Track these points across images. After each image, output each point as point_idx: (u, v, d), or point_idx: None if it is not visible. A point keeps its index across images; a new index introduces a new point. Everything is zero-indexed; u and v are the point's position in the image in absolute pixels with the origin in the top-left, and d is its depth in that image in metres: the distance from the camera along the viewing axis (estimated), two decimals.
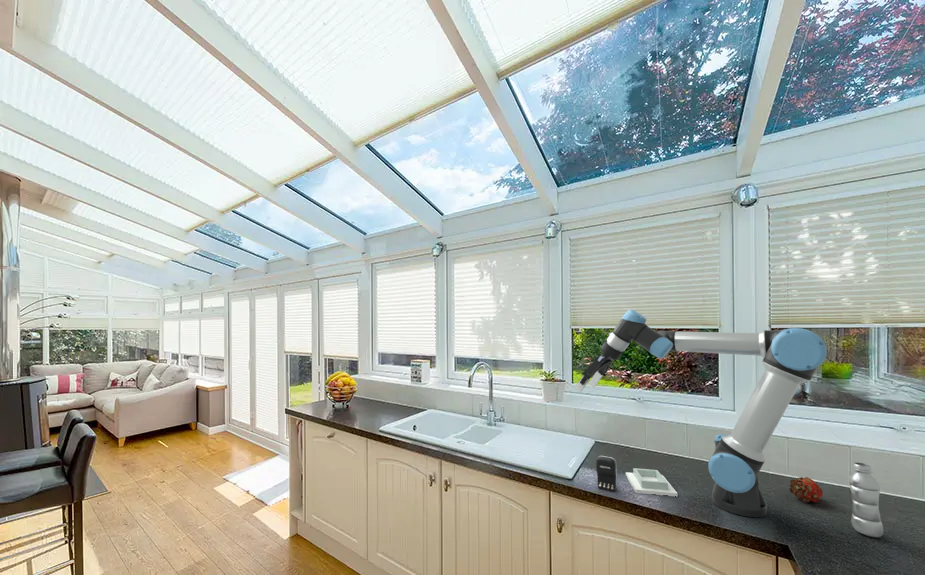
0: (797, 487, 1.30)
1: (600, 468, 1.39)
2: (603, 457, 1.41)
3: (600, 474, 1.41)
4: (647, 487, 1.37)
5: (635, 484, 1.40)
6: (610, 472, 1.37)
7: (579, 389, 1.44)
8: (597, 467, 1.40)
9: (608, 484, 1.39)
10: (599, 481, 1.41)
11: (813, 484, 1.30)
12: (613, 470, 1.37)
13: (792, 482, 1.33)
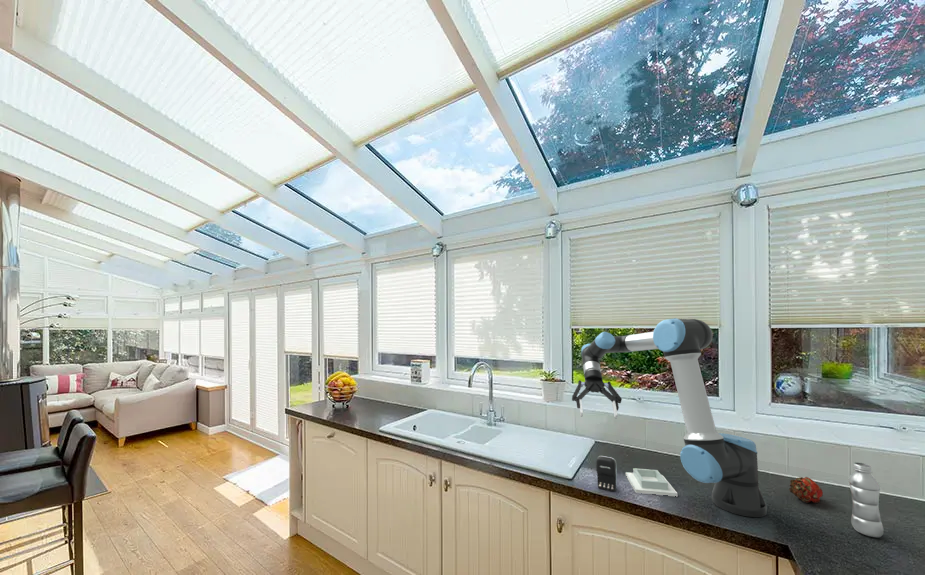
0: (797, 487, 1.30)
1: (600, 468, 1.39)
2: (603, 457, 1.41)
3: (600, 474, 1.41)
4: (647, 487, 1.37)
5: (635, 484, 1.40)
6: (610, 472, 1.37)
7: (580, 412, 1.56)
8: (597, 467, 1.40)
9: (608, 484, 1.39)
10: (599, 481, 1.41)
11: (813, 484, 1.30)
12: (613, 470, 1.37)
13: (792, 482, 1.33)
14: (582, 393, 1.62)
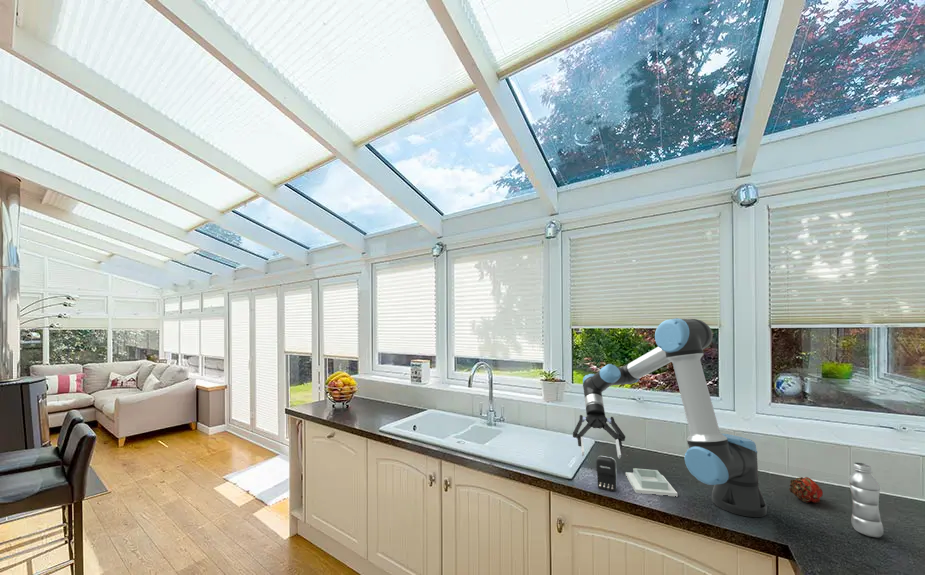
0: (797, 487, 1.30)
1: (600, 468, 1.39)
2: (603, 457, 1.41)
3: (600, 474, 1.41)
4: (647, 487, 1.37)
5: (635, 484, 1.40)
6: (610, 472, 1.37)
7: (581, 451, 1.48)
8: (597, 467, 1.40)
9: (608, 484, 1.39)
10: (599, 481, 1.41)
11: (813, 484, 1.30)
12: (613, 470, 1.37)
13: (792, 482, 1.33)
14: (583, 429, 1.53)
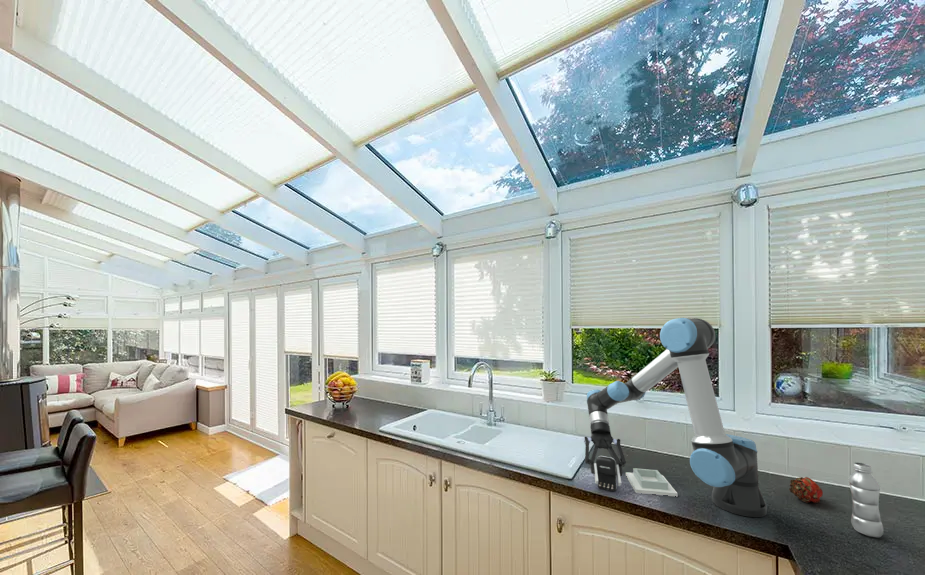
0: (797, 487, 1.30)
1: (600, 468, 1.39)
2: (603, 457, 1.40)
3: (600, 474, 1.41)
4: (647, 487, 1.37)
5: (635, 484, 1.40)
6: (610, 472, 1.37)
7: (595, 479, 1.37)
8: (597, 467, 1.40)
9: (608, 484, 1.39)
10: (599, 481, 1.41)
11: (813, 484, 1.30)
12: (613, 470, 1.37)
13: (792, 482, 1.33)
14: (594, 453, 1.44)
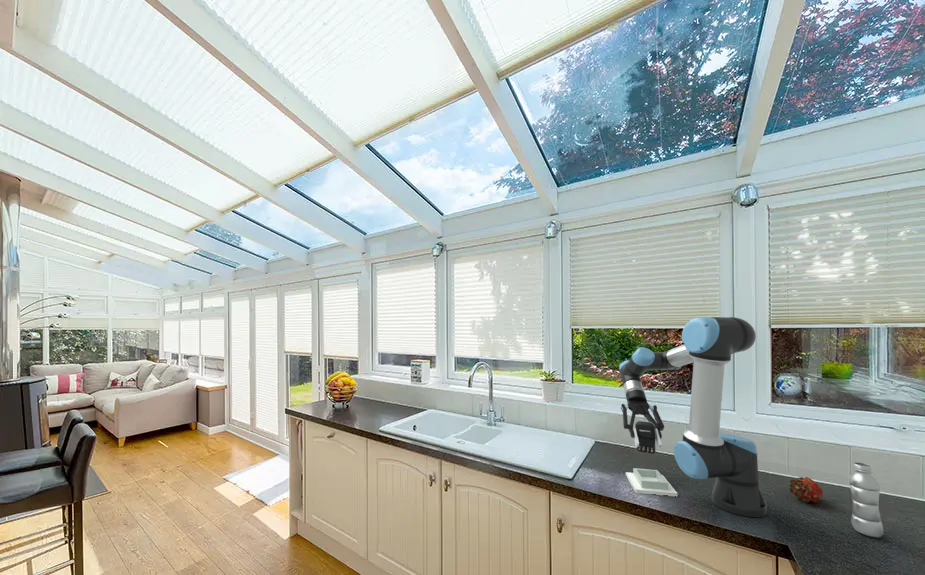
0: (797, 487, 1.30)
1: (639, 432, 1.43)
2: (642, 421, 1.45)
3: (639, 438, 1.45)
4: (647, 487, 1.37)
5: (635, 484, 1.40)
6: (650, 435, 1.42)
7: (636, 442, 1.41)
8: (636, 431, 1.44)
9: (647, 447, 1.43)
10: None
11: (813, 484, 1.30)
12: (653, 433, 1.41)
13: (792, 482, 1.33)
14: (632, 419, 1.48)
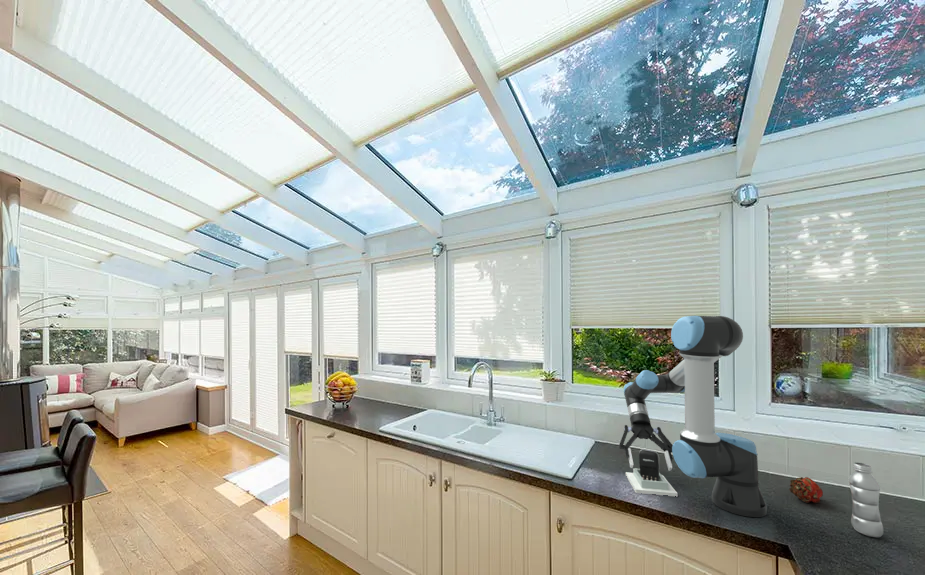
0: (797, 487, 1.30)
1: (643, 462, 1.43)
2: (646, 450, 1.44)
3: (643, 467, 1.44)
4: (647, 487, 1.37)
5: (635, 484, 1.40)
6: (653, 465, 1.41)
7: (630, 463, 1.43)
8: (640, 460, 1.44)
9: (651, 477, 1.43)
10: (642, 474, 1.44)
11: (813, 484, 1.29)
12: (656, 463, 1.41)
13: (792, 482, 1.33)
14: (630, 440, 1.49)
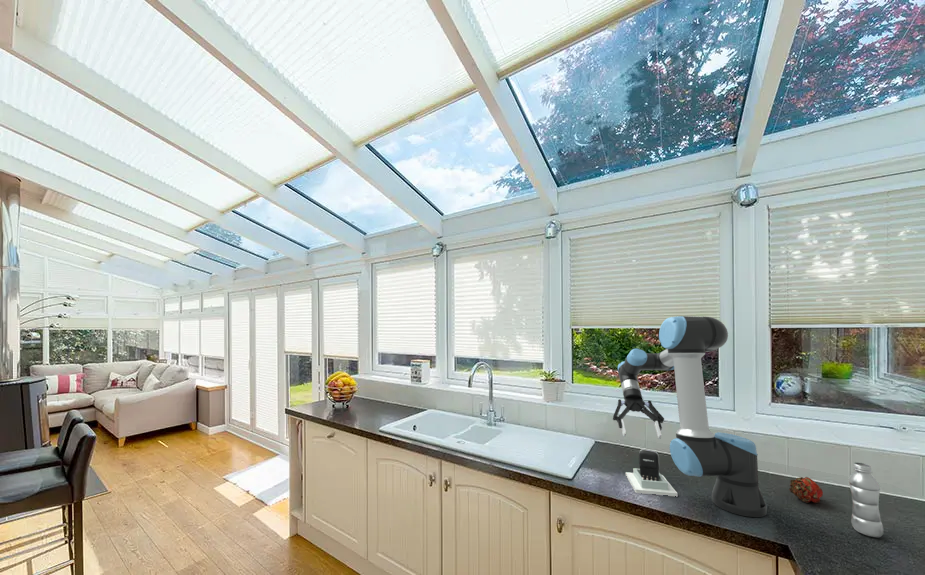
0: (797, 487, 1.30)
1: (643, 462, 1.43)
2: (646, 451, 1.44)
3: (643, 467, 1.44)
4: (647, 487, 1.37)
5: (635, 484, 1.40)
6: (653, 465, 1.41)
7: (623, 432, 1.55)
8: (640, 460, 1.44)
9: (651, 477, 1.43)
10: (642, 474, 1.44)
11: (813, 484, 1.29)
12: (656, 463, 1.41)
13: (792, 482, 1.33)
14: (623, 412, 1.61)
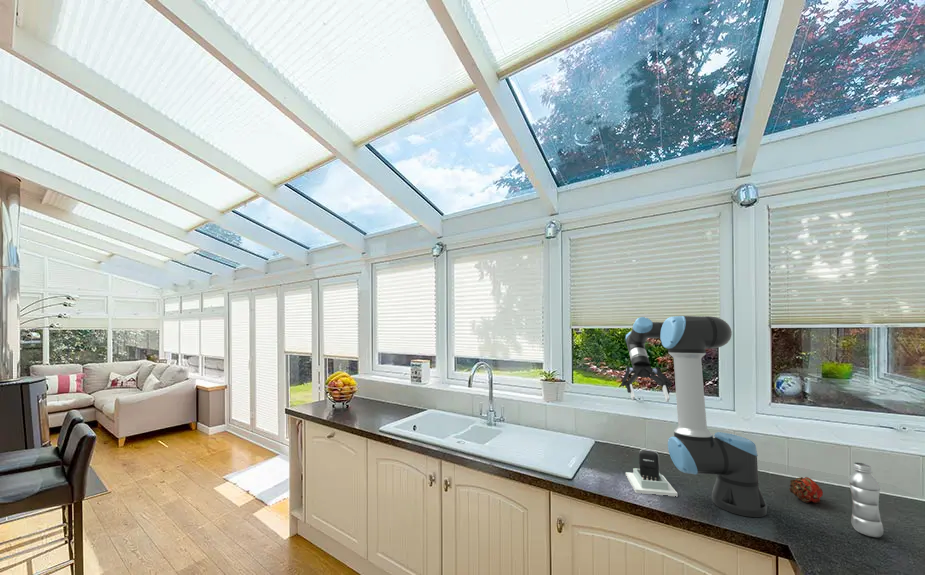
0: (797, 487, 1.30)
1: (643, 462, 1.43)
2: (646, 451, 1.44)
3: (643, 467, 1.44)
4: (647, 487, 1.37)
5: (635, 484, 1.40)
6: (653, 465, 1.41)
7: (632, 396, 1.59)
8: (640, 460, 1.44)
9: (651, 477, 1.43)
10: (642, 474, 1.44)
11: (813, 484, 1.29)
12: (656, 463, 1.41)
13: (792, 482, 1.33)
14: (632, 378, 1.65)
